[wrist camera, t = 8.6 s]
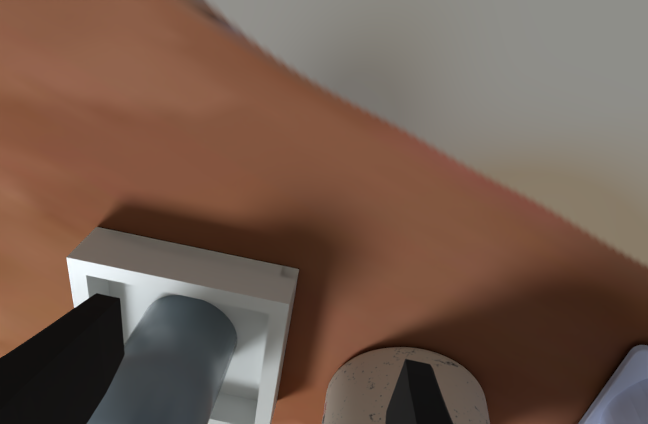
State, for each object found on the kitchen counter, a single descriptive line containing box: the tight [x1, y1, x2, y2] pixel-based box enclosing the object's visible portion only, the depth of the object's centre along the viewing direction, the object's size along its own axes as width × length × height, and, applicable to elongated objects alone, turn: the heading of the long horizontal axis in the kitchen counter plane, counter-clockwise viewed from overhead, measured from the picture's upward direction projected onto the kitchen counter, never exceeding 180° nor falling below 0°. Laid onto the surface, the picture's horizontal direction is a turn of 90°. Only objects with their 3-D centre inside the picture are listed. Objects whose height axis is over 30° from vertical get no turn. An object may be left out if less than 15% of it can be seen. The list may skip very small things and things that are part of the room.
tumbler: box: [87, 295, 237, 424], centre depth 22 cm, size 5×5×7 cm
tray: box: [67, 227, 299, 424], centre depth 25 cm, size 10×10×2 cm
